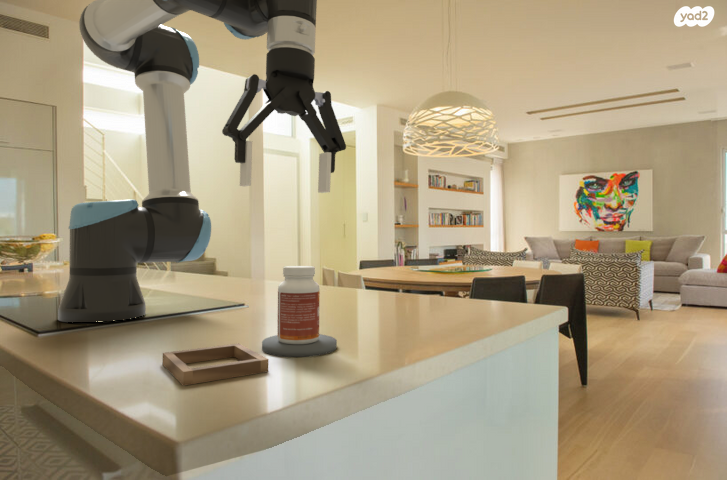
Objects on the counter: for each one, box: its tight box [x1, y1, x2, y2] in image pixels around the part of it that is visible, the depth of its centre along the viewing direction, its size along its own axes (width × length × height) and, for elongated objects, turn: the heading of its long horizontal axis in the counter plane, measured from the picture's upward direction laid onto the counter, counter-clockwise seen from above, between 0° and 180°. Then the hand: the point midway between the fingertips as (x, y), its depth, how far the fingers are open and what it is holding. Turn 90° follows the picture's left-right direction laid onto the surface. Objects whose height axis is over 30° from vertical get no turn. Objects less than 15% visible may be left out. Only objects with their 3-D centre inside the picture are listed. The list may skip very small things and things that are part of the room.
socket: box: [162, 343, 269, 387], centre depth 58 cm, size 10×10×2 cm
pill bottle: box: [277, 265, 321, 345], centre depth 69 cm, size 6×6×11 cm
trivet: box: [261, 333, 338, 358], centre depth 69 cm, size 11×11×1 cm
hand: (286, 189), depth 74 cm, fingers open, 13 cm apart
